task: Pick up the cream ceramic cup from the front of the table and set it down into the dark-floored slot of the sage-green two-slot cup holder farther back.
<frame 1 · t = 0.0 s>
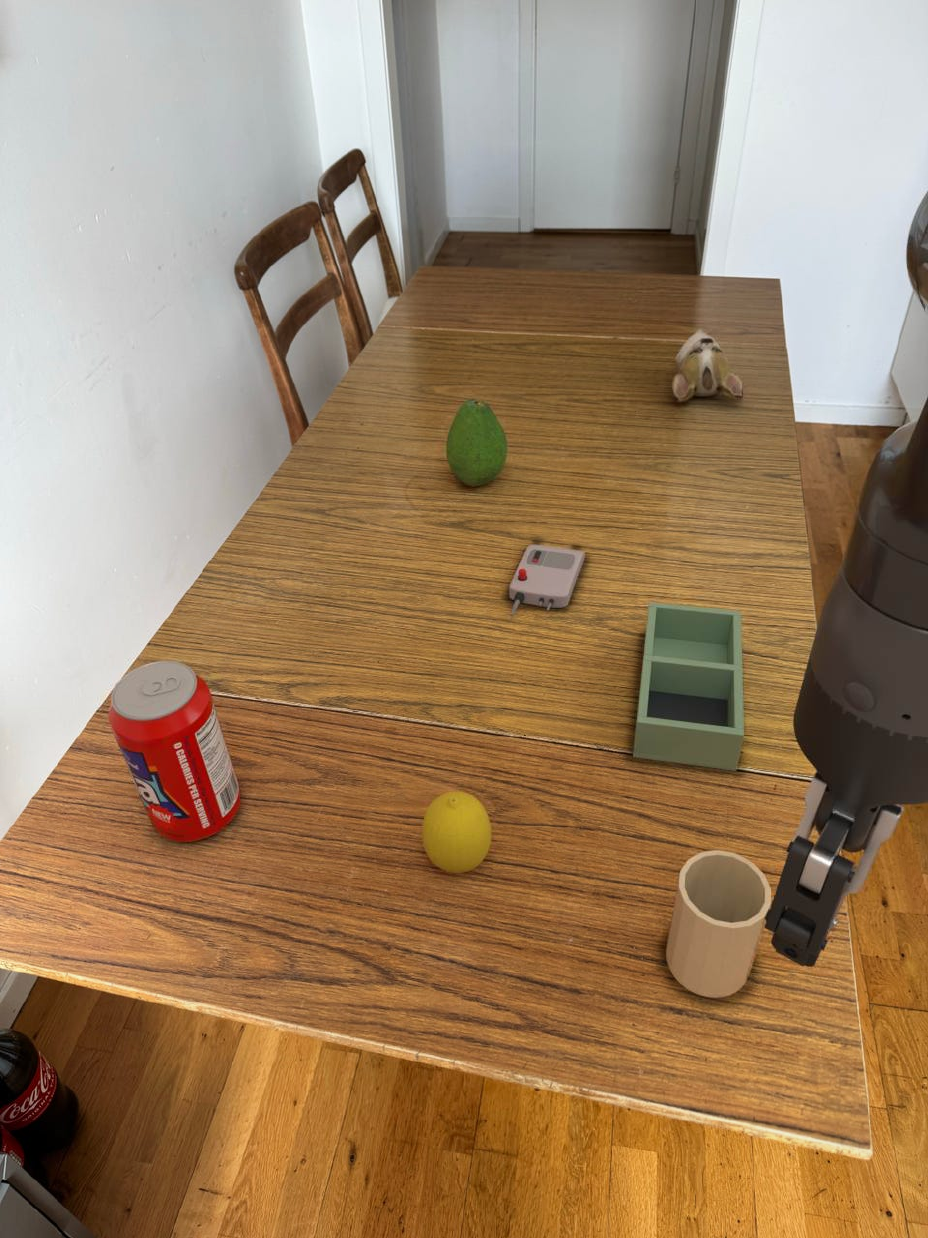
hand: (824, 892, 47), 20 cm above the table, tool pointing down, fingers open, 8 cm apart
holder: (686, 697, 87), on the table
soda can: (199, 813, 78), on the table
lemon: (459, 865, 73), on the table
cup: (707, 959, 66), on the table
ceramic sculpture: (701, 393, 139), on the table
fruit: (477, 483, 120), on the table
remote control: (545, 584, 102), on the table
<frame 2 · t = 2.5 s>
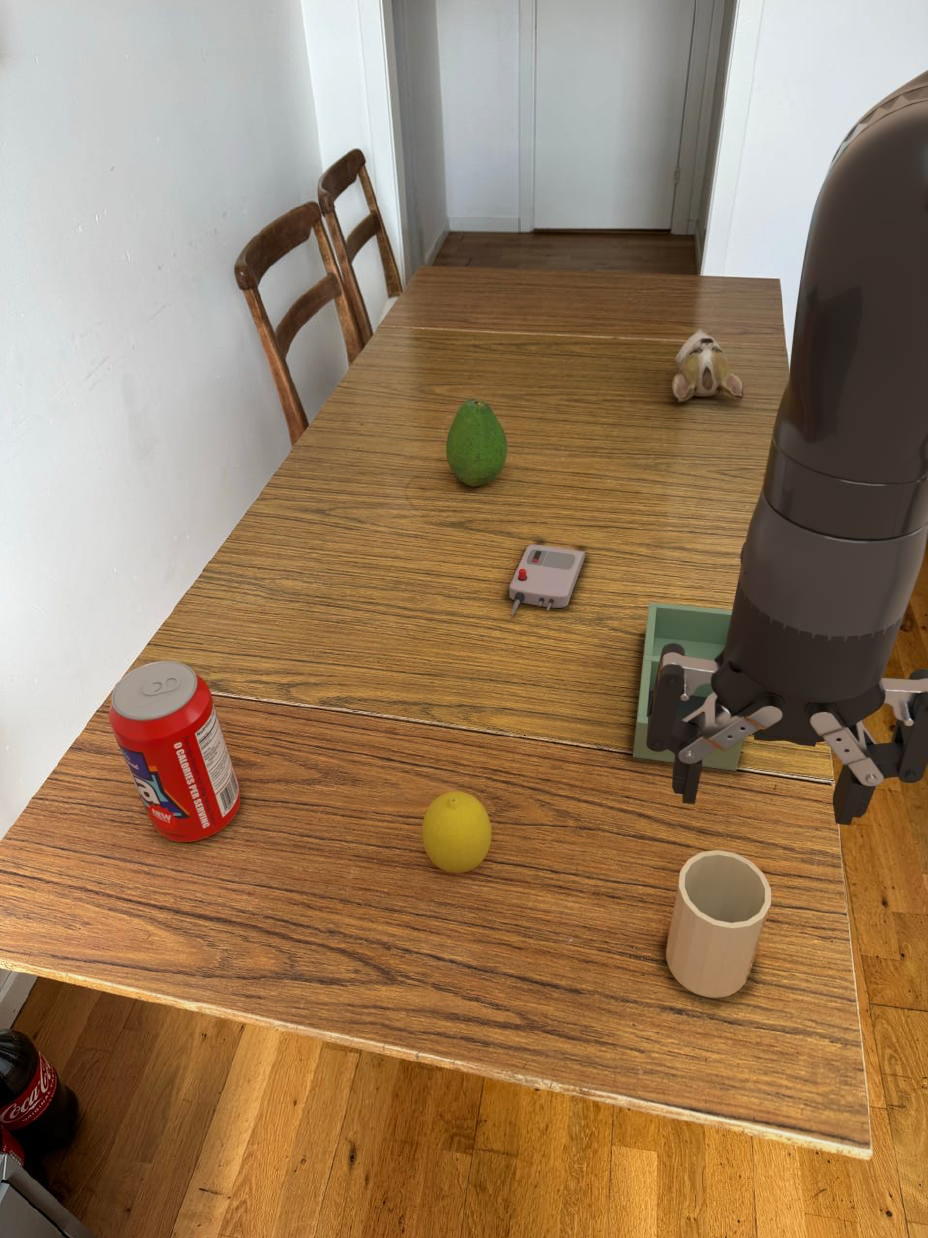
hand: (763, 802, 52), 20 cm above the table, tool pointing down, fingers open, 8 cm apart
nothing on the table moved.
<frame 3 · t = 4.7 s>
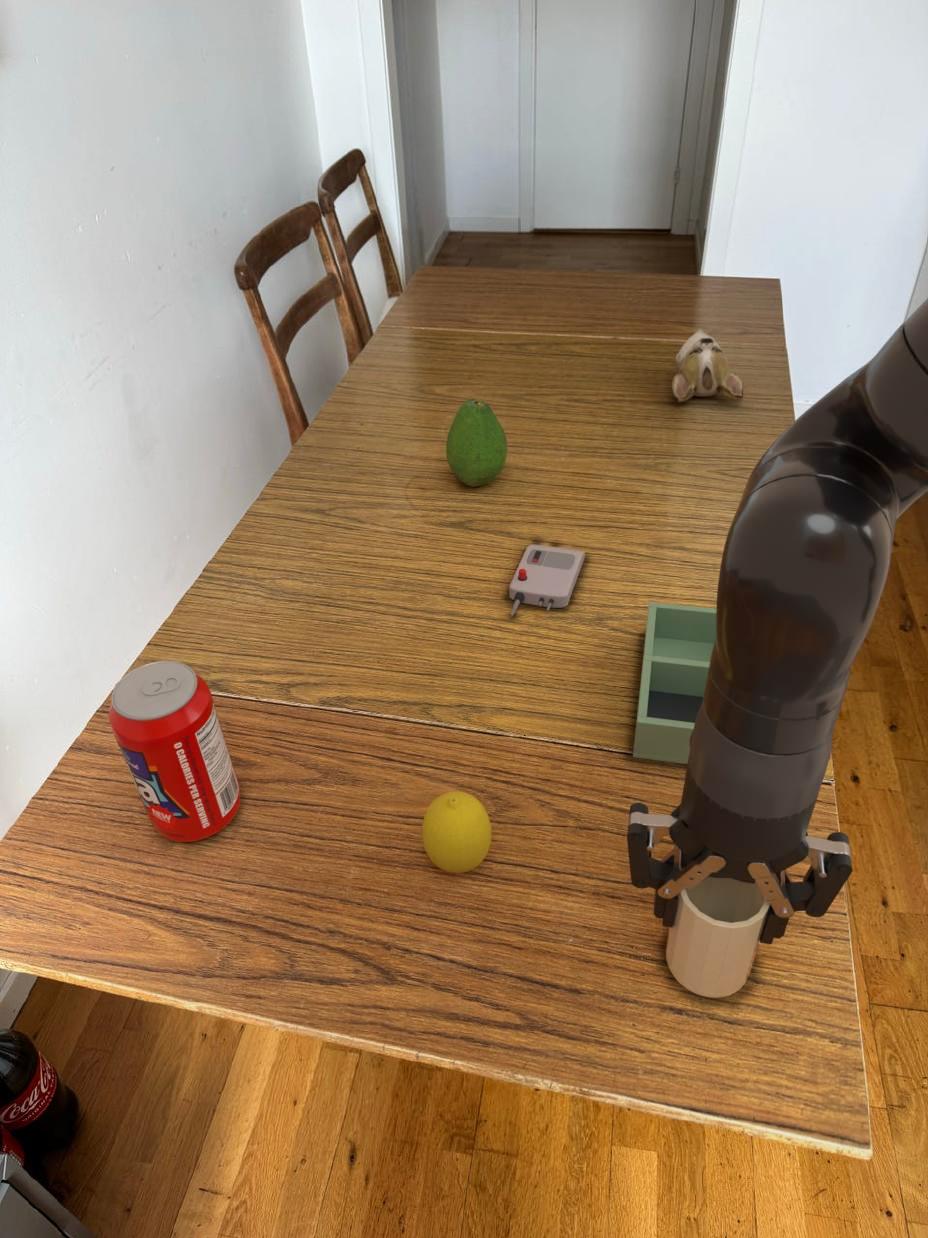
hand: (716, 923, 63), 5 cm above the table, tool pointing down, fingers closed on cup, 6 cm apart
cup: (707, 959, 66), on the table, touching gripper
everything else where it was.
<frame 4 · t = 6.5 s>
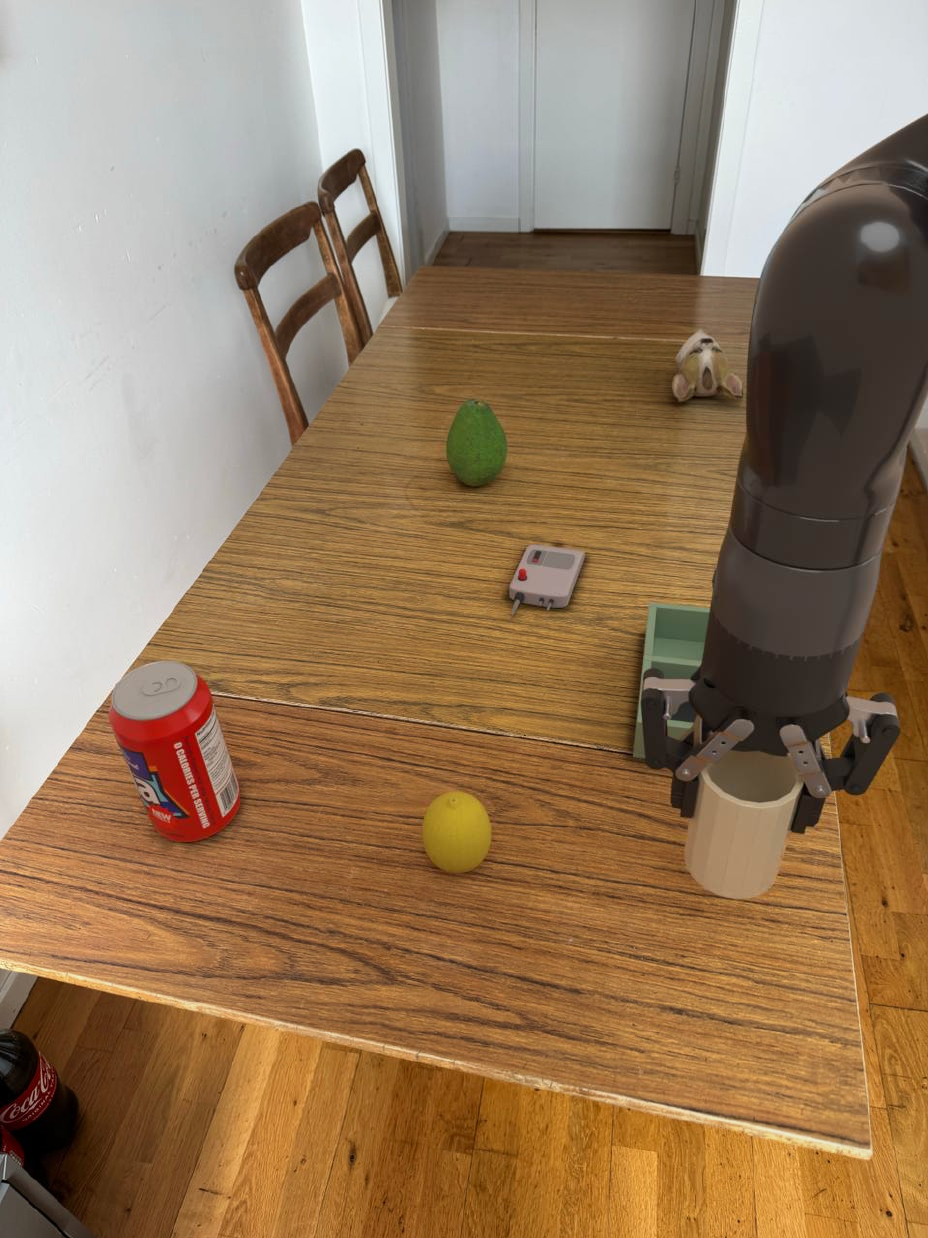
hand: (740, 814, 56), 16 cm above the table, tool pointing down, fingers closed on cup, 6 cm apart
cup: (730, 859, 59), point 12 cm above the table, touching gripper
everything else where it was.
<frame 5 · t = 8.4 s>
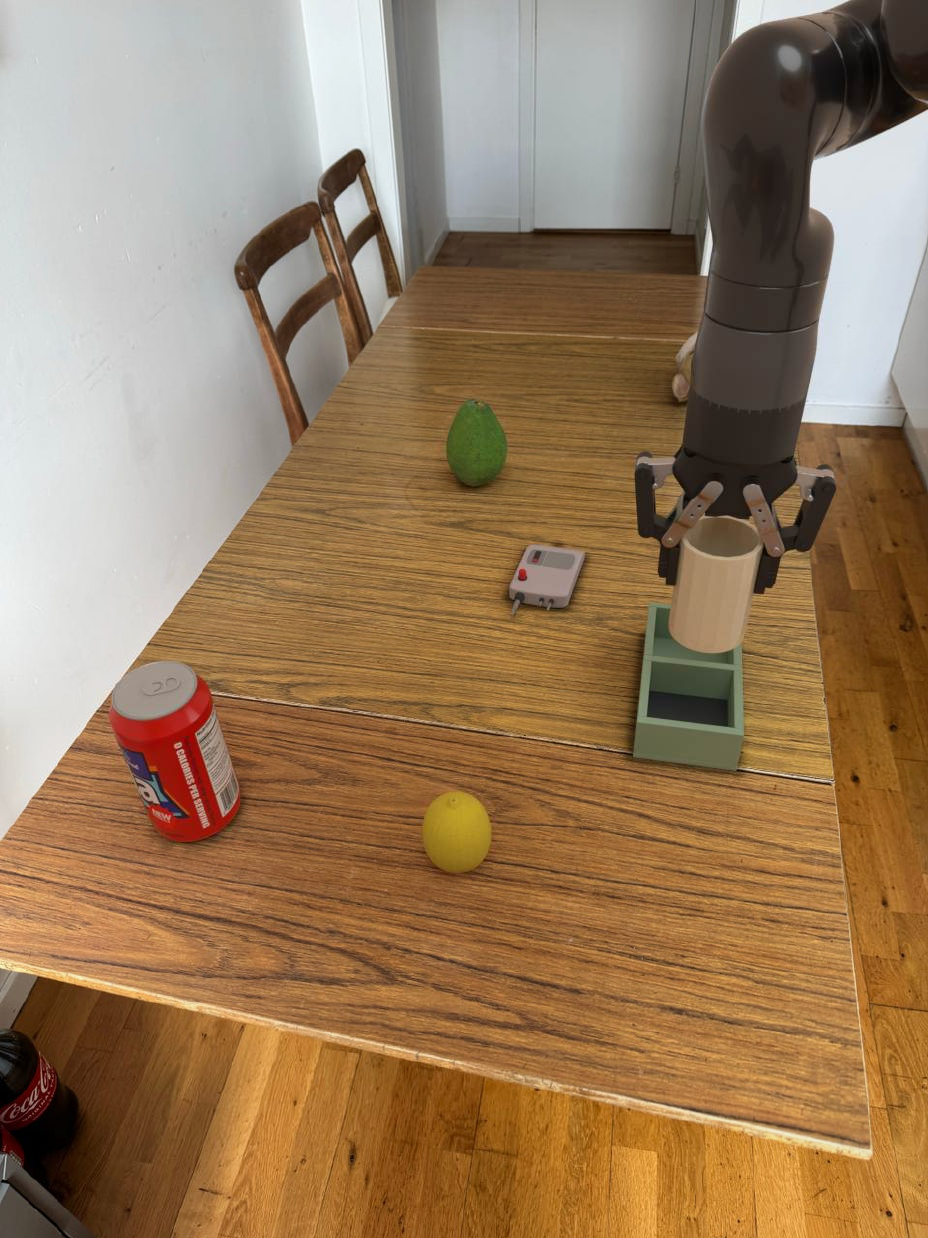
hand: (714, 583, 69), 19 cm above the table, tool pointing down, fingers closed on cup, 6 cm apart
cup: (706, 629, 72), point 15 cm above the table, touching gripper
everything else where it was.
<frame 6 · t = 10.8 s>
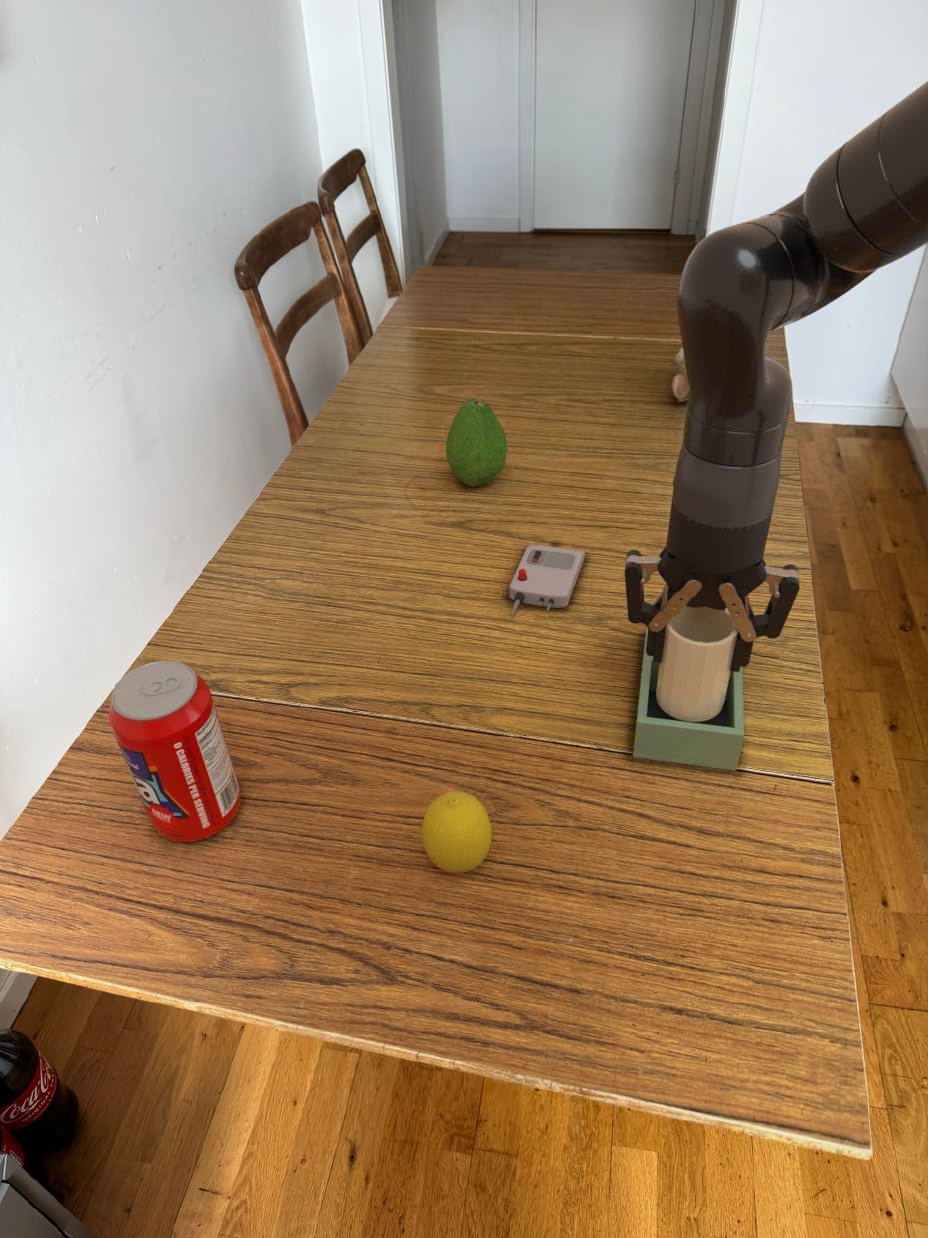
hand: (695, 660, 78), 8 cm above the table, tool pointing down, fingers closed on cup, 6 cm apart
cup: (689, 698, 81), point 4 cm above the table, touching gripper
everything else where it was.
when the fingers open (5 cm above the table, at t = 12.3 s): cup stays where it is, resting on holder.
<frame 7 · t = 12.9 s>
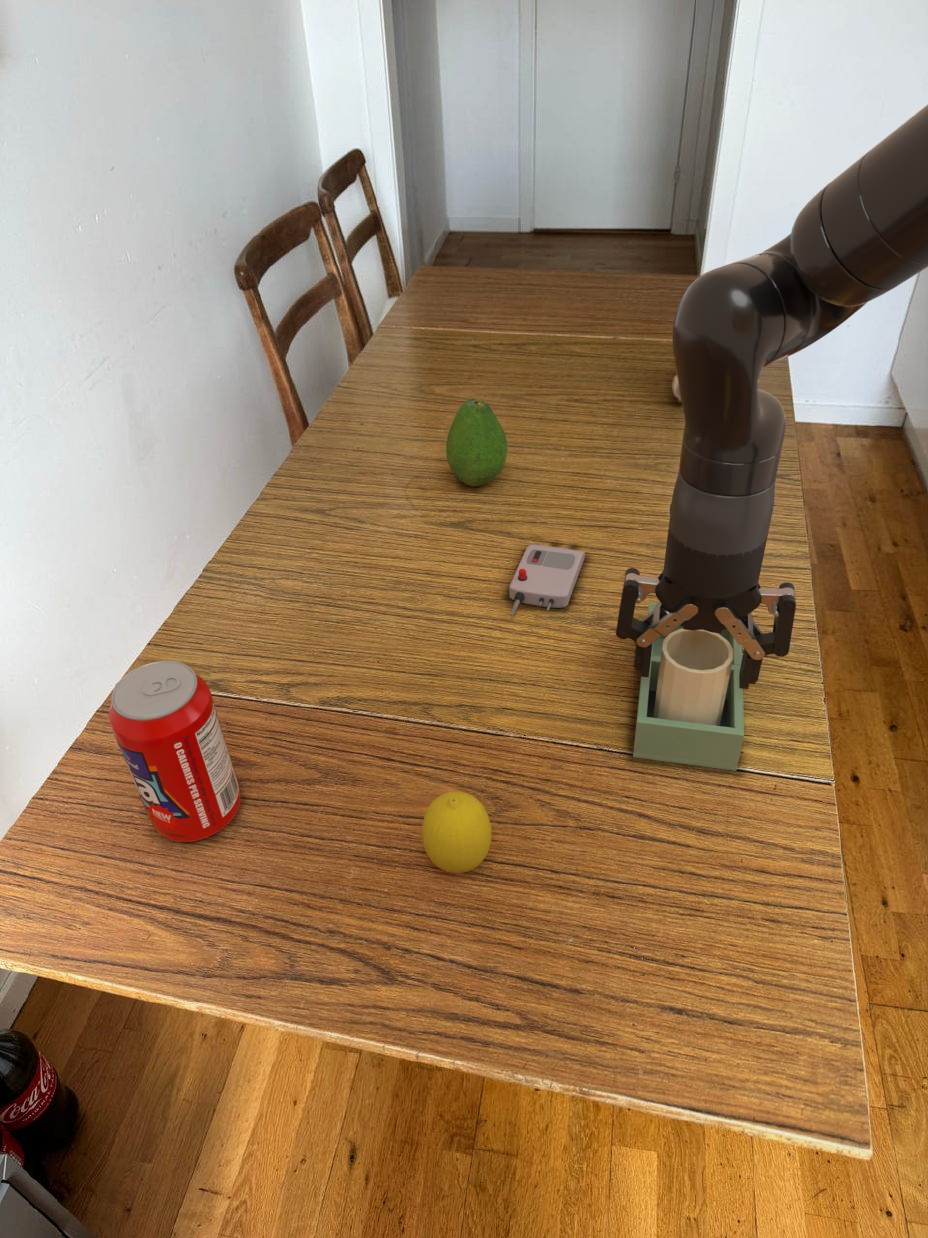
hand: (693, 676, 79), 7 cm above the table, tool pointing down, fingers open, 8 cm apart
cup: (685, 722, 83), point 1 cm above the table, touching holder
everything else where it was.
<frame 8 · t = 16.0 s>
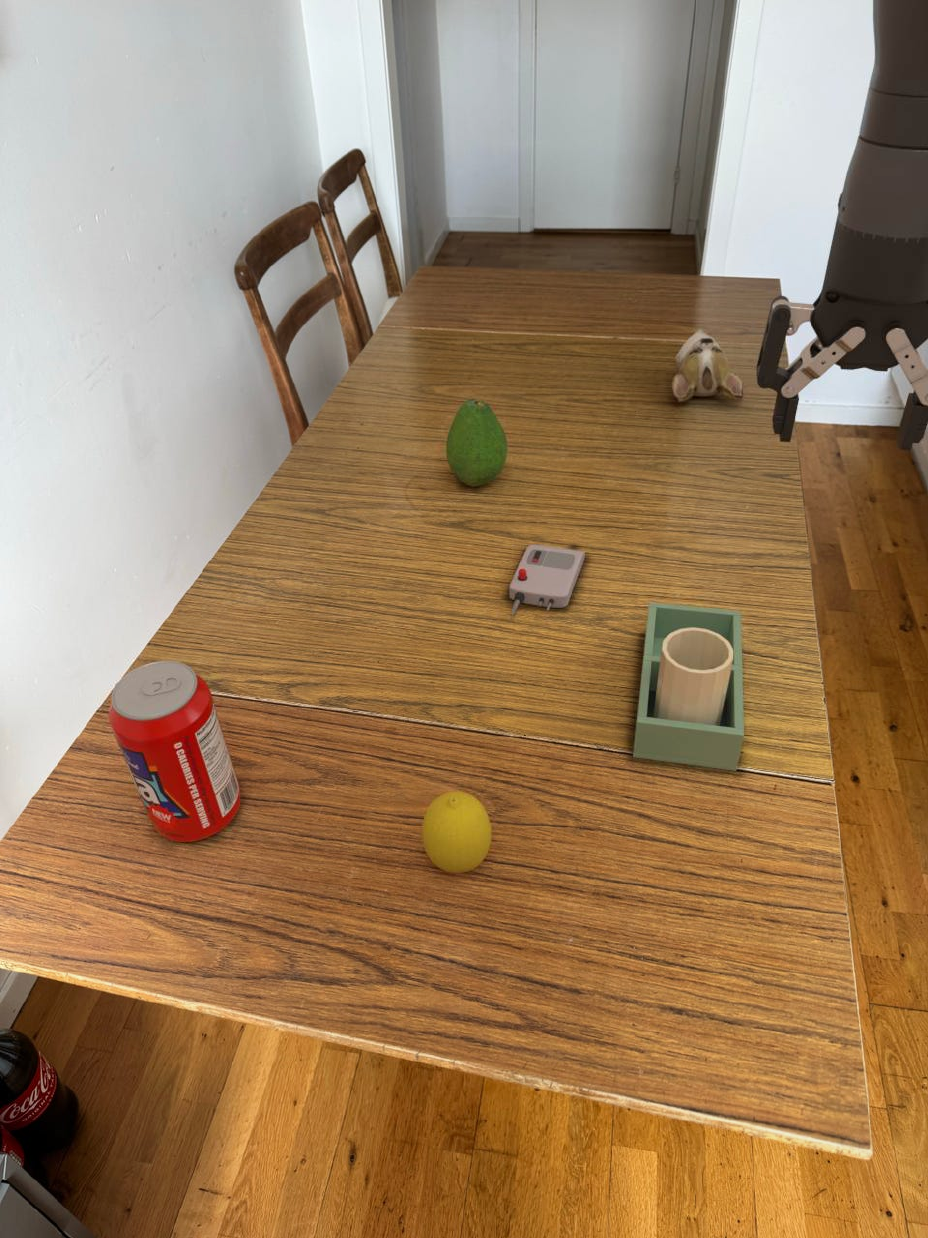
hand: (843, 441, 68), 28 cm above the table, tool pointing down, fingers open, 8 cm apart
nothing on the table moved.
at the end: cup 0.0 cm from the target spot in the holder, point 0.8 cm above the holder's base; cup tilted 0°; the gripper is holding nothing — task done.
